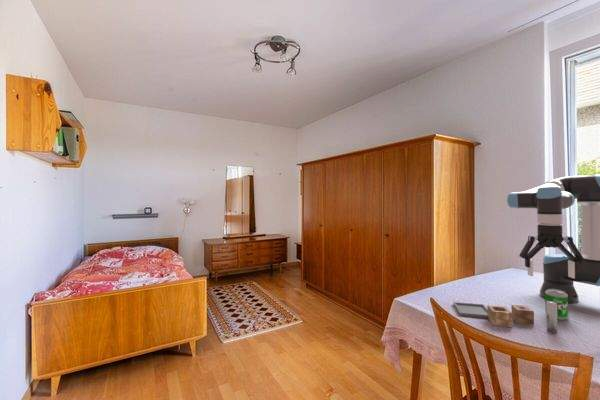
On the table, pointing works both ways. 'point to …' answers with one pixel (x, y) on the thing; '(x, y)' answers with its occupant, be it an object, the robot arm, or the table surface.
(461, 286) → the table surface
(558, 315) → the soda can
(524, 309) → the walnut block
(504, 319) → the go block
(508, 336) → the table surface
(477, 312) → the tray
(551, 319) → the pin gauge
